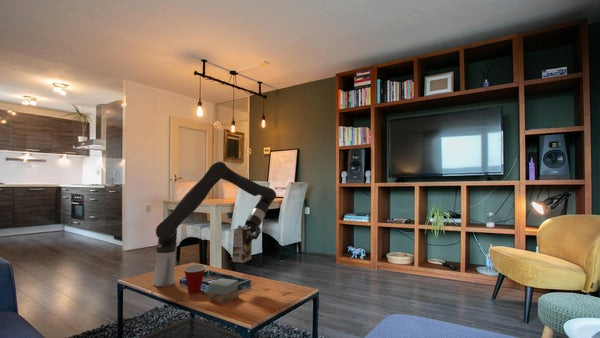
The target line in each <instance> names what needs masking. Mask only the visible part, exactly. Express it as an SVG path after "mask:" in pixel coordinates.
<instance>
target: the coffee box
mask: <svg viewBox="0 0 600 338" xmlns="http://www.w3.org/2000/svg"><path fill="white" fill-rule="evenodd" d="M251 230H252V228H243V227H242V228H238V227H237V228H233V235H232V236H233V238H232V239H233V240H232V258H231V262H235V263H243V264H244V263H246V262H248V261H250V260H252V248H253V241H252V242H251V243H250V245H249V246H247V245H246V241H247V240H248V238H249V237H250V234H249V233H250V231H251Z"/></svg>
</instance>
